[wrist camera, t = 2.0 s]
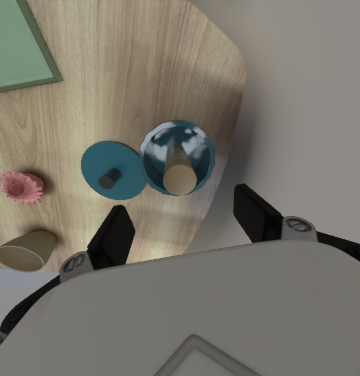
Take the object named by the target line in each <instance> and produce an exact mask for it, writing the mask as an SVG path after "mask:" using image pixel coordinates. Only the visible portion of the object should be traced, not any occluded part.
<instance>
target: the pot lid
mask: <svg viewBox="0 0 360 376" xmlns="http://www.w3.org/2000/svg"><path fill="white" fill-rule="evenodd" d="M138 159H139V156H138V155H137V154H136V153H135V152H134V151H133V150H132V149H130V148H129V147H127V146H125V145H123V144H120V143H117V142H110V141H106V142H100V143H96V144H94V145H92V146H91V147H89V148H88V149H87V150H86V151H85V153H84V155H83V157H82V160H81V169H82V173H83V176H84V178H85V180H86V182H87V183H88V184H89V186H90V187H91V188H92V189H93V190H95V191H96V192H97V193H99V194H101V195H102V196H105V197H107V198H110V199H115V200H126V199H130V198H133V197H135V196H136V195H138V194H139V193H140V192H141V191H142V190H143V188H144V186H145V183H146V180H145V179H144V178H143V176H142V173H141V170H140V167H139V164H138Z"/></svg>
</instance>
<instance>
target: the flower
mask: <svg viewBox="0 0 360 376" xmlns="http://www.w3.org/2000/svg"><path fill="white" fill-rule="evenodd" d="M3 172H4V173H5V174H0V176H1V177H2V178H0V181H1V182H2V183H0V186H3V189H2V190H1V192H2V191H4V192H5V193H6V194H7V197H9V196H10V197H11V198H13V199H14V202H15V201H16V200H19V201H21V203H22V204H23V201H24V202H26V203H27V204H29V205H30V203H29V202H32V203H34V204H36V203H35V201H39V202H41V201H40V200H39V198H43V197H42V196H41V195H42V194H44V193H43V188H44V184H43V181H41V179H40V178H37V176H33V175H31V174H24V173H21V172H20V173H17V172H14V171H11V173H9V172H5V171H3ZM43 199H44V198H43ZM36 205H37V204H36Z"/></svg>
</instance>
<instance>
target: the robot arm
mask: <svg viewBox="0 0 360 376" xmlns="http://www.w3.org/2000/svg"><path fill="white" fill-rule="evenodd" d="M233 208H234V209H233V214H234V216H235V218H236V219H237V221H238V222H239V224H240V225H241V227H242V228H243V230H244V231H245V233H246V234H247V235H248V237H249V238H250V240H251V241H252V243H251V244H244V245H238V246H231V247H225V248H219V249H213V250H207V251H201V252H195V253H189V254H183V255H177V256H171V257H165V258H159V259H153V260H148V261H142V262H136V263H130V264H126V261H127V257H128V254H129V251H130V248H131V244H132V241H133V238H134V235H135V228H134V226H133V224H132V221H131V219H130V217H129V215H128V212H127V210H126V208H125V206H123V205H116V206H114V207H113V208H112V210H111V211H110V213H109V214H108V216H107V217H106V219H105V220H104V222H103V223H102V225H101V226H100V228H99V229H98V231H97V232H96V234H95V235H94V237H93V238H92V240H91V241H90V243H89V244H88V246H87V248H88V249H87V251H86V252H85V251H81V252H78V253H76V254H74V255H72V256H71V257H69V258H68V259H67V260H66V261H65V262H64V263H63V264H62V266H61V268H60V271H59V273H60V275H58V276H57V277H56V278H54V279H53V280H51V281H50V282H48V283H47V284H45V285H44V286H43V287H41V288H40V289H39V290H37V291H35V292H34V293H33V294H31V295H30V296H28V297H27V298H26V299H24V300H23V301H21V302H20V303H19V304H18V305H16V306H15V307H14V308H13V309H12V310H11V311H10V312H9V313H8V315H7V316H6V317H5V319H4V320H3V322H2V324H1V327H0V376H360V244H358V243H355V242H351V241H348V240H345V239H341V238H338V237H335V236H331V235H328V234H325V233H321V232H318V231H316V229H315V227H314V225H313V224H312V223H310V222H309V221H307V220H305V219H303V218H299V217H295V216H288V217H285V218H284V217H283V216H282V215H281V213H280V212H278V211H277V210H276V209H275V208H274V207H272V206H271V205H270V204H269V203H268V202H266V201H265V200H264V199H263V198H262V197H260V196H259V195H258V194H257V193H256V192H254V191H253V190H252V189H250V188H249V187H248V186H247V185H246V184H238V185H237V186H236V187H235V188H234V206H233Z"/></svg>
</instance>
